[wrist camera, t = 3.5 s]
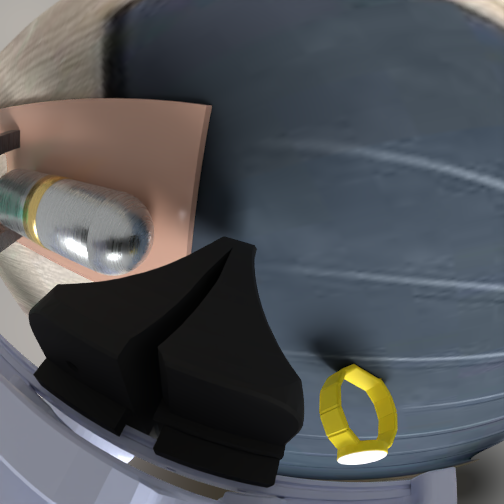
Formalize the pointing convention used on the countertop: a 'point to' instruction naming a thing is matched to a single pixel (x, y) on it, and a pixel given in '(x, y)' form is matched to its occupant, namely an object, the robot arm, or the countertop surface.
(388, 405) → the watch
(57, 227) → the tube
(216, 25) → the countertop surface
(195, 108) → the plate
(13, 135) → the black upright posts
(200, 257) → the robot arm
